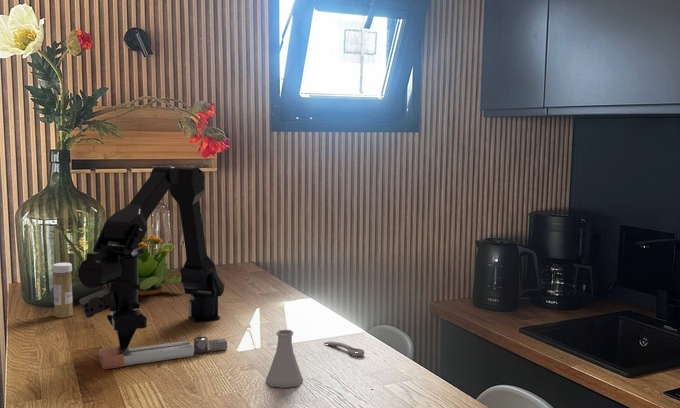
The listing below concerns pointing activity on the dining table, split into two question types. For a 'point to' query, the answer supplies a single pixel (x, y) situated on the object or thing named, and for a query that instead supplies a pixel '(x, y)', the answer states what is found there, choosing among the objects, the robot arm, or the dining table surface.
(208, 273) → the robot arm
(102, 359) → the tongs fixed
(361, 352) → the spoon
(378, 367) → the dining table surface
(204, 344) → the tong arm
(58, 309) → the sprinkles bottle
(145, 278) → the potted flower
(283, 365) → the flask
